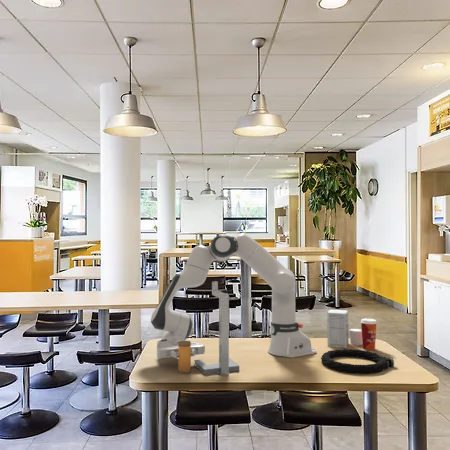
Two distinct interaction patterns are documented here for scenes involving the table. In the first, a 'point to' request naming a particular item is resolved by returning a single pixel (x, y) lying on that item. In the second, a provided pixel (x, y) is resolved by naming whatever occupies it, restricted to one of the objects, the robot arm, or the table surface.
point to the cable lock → (359, 369)
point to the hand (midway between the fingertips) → (185, 355)
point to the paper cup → (368, 333)
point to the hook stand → (223, 329)
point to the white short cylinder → (355, 336)
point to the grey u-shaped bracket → (214, 367)
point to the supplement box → (337, 328)
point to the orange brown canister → (184, 357)
